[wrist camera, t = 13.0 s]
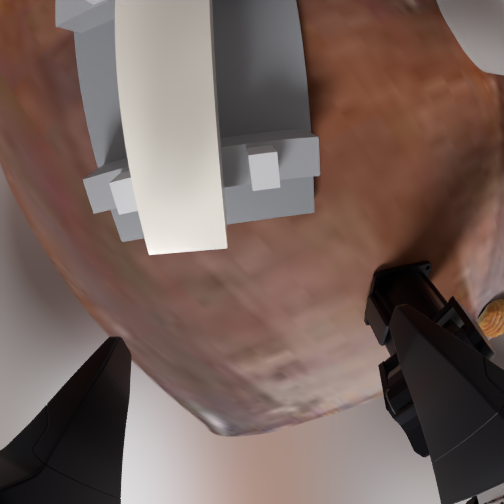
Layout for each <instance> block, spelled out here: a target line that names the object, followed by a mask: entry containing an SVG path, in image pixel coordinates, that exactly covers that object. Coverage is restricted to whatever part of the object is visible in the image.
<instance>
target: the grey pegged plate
mask: <svg viewBox="0 0 504 504" xmlns="http://www.w3.org/2000/svg"><path fill="white" fill-rule="evenodd" d="M212 7H213V30H214V50H215V68H216V84H217V100H218V114H219V128H220V142H221V154H222V167H223V179H224V190H225V202H226V213H227V224H234V223H241V222H248V221H255V220H262V219H269V218H276V217H284V216H291V215H299V214H307V213H314V179H313V176H320V158H319V137H318V136H316V135H314V134H312V133H311V123H310V110H309V98H308V87H307V77H306V68H305V59H304V51H303V43H302V36H301V28H300V22H299V15H298V9H297V3H296V0H212ZM56 27H60V28H64V29H68V30H71V31H74V39H75V50H76V60H77V68H78V75H79V82H80V88H81V94H82V100H83V106H84V111H85V116H86V121H87V125H88V130H89V134H90V139H91V143H92V147H93V151H94V155H95V159H96V163H97V166H98V169H97V170H95V171H94V172H93V173H91V174H90V175H88V176H87V177H86V178H84V179H83V182H84V185H85V188H86V192H87V195H88V198H89V201H90V204H91V207H92V210H93V212H94V213H98V212H103V211H107V210H111V212H112V215H113V218H114V221H115V224H116V227H117V230H118V232H119V235H120V238H121V240H122V242H125V241H130V240H136V239H142V238H144V234H143V230H142V226H141V222H140V218H139V213H138V209H137V205H136V200H135V195H134V191H133V186H132V181H131V175H130V170H129V165H128V159H127V153H126V147H125V141H124V134H123V127H122V119H121V111H120V103H119V93H118V82H117V69H116V52H115V0H56Z"/></svg>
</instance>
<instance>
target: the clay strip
mask: <svg viewBox="0 0 504 504" xmlns="http://www.w3.org/2000/svg"><path fill="white" fill-rule="evenodd" d="M115 52H116V69H117V82H118V93H119V103H120V111H121V119H122V127H123V134H124V141H125V147H126V153H127V159H128V165H129V170H130V175H131V181H132V186H133V191H134V195H135V200H136V205H137V209H138V213H139V218H140V222H141V226H142V230H143V234H144V238H145V242H146V246H147V249H148V253H149V255H154V254H166V253H177V252H189V251H201V250H213V249H225V248H227V213H226V202H225V190H224V179H223V167H222V154H221V142H220V128H219V114H218V100H217V84H216V68H215V50H214V30H213V7H212V0H115Z"/></svg>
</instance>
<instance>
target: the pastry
mask: <svg viewBox="0 0 504 504" xmlns="http://www.w3.org/2000/svg"><path fill="white" fill-rule="evenodd" d="M478 325H479V326H480V328H481V329H482V331H483V332H484V334H485V335H486V336H490V337H497V336H498V335H499V334H502V333H504V299H498V300H494V301H492V302H491V303H489V304H488V305H487V306H486V308H485V310H484V311H483V313H482V314H481V315H480V317H479V318H478Z"/></svg>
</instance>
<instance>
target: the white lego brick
mask: <svg viewBox="0 0 504 504" xmlns="http://www.w3.org/2000/svg"><path fill="white" fill-rule="evenodd" d="M436 1H437V4H438V6H439V9H440V11H441V13H442V15H443V17H444V19H445V21H446V23H447V24H448V26H449V28H450V29H451V31H452V33H453V34H454V36H455V38H456V39H457V41H458V43H459V44H460V46H461V47H462V49H463V50H464V52H465V53H466V54H467V55H468V57H469V58H470V59H471V60H472V61H473V63H474V64H475V65H476V66H477V67H478V68H479V69H481V70H482V71H484V72H487V73H493V74H499V75H504V0H436Z"/></svg>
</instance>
